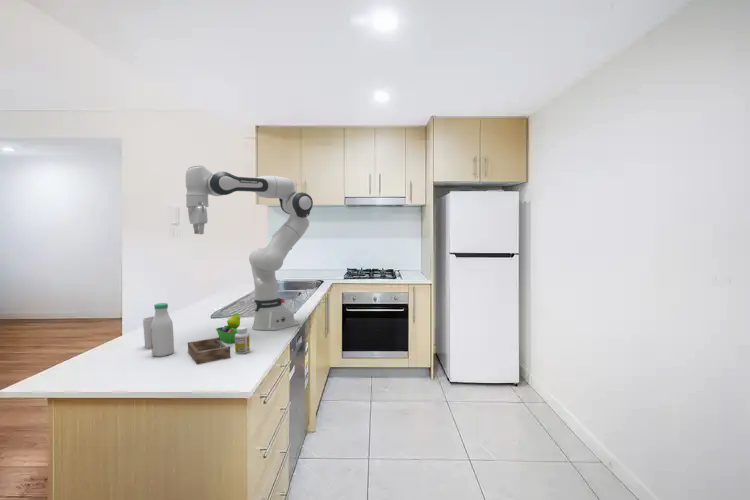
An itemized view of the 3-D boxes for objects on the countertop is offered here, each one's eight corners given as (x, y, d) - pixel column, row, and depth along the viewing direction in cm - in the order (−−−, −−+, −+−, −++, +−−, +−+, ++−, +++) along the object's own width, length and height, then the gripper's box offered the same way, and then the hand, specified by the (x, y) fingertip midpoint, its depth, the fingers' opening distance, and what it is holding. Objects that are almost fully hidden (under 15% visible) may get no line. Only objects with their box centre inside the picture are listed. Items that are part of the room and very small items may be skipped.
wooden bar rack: (219, 346, 163) (218, 336, 163) (230, 357, 149) (230, 347, 149) (187, 351, 156) (187, 342, 156) (197, 364, 142) (196, 353, 142)
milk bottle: (178, 351, 157) (176, 302, 156) (162, 357, 150) (160, 306, 148) (163, 349, 160) (161, 301, 158) (147, 355, 152) (145, 305, 151)
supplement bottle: (244, 348, 160) (244, 325, 159) (252, 351, 156) (251, 327, 156) (232, 352, 156) (231, 328, 155) (240, 355, 152) (239, 330, 151)
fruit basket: (215, 339, 173) (214, 314, 173) (234, 335, 180) (233, 311, 179) (227, 344, 166) (226, 318, 165) (246, 340, 172) (246, 314, 171)
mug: (157, 348, 161) (156, 319, 160) (140, 348, 161) (139, 320, 160) (169, 341, 171) (168, 314, 171) (154, 341, 171) (152, 314, 170)
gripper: (210, 201, 166) (211, 234, 167) (200, 204, 182) (201, 233, 183) (194, 201, 162) (196, 234, 163) (185, 203, 179) (186, 234, 180)
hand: (198, 234), depth 173 cm, fingers open, 8 cm apart
